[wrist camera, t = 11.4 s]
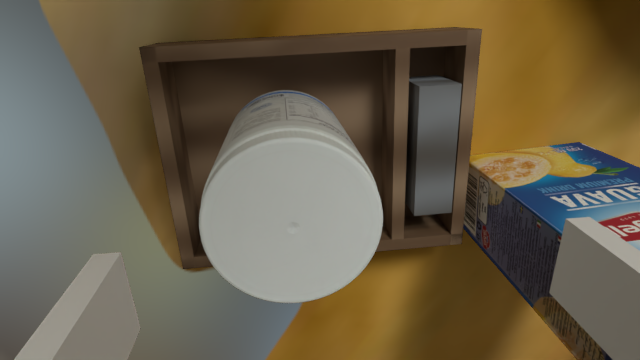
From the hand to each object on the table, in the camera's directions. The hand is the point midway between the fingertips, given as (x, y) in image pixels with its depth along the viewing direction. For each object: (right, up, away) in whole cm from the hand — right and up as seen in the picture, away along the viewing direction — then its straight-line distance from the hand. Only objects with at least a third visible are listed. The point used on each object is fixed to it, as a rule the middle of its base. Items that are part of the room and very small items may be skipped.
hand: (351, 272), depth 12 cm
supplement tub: (-4, +6, +22) cm, 23 cm away
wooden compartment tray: (-1, +6, +23) cm, 24 cm away
